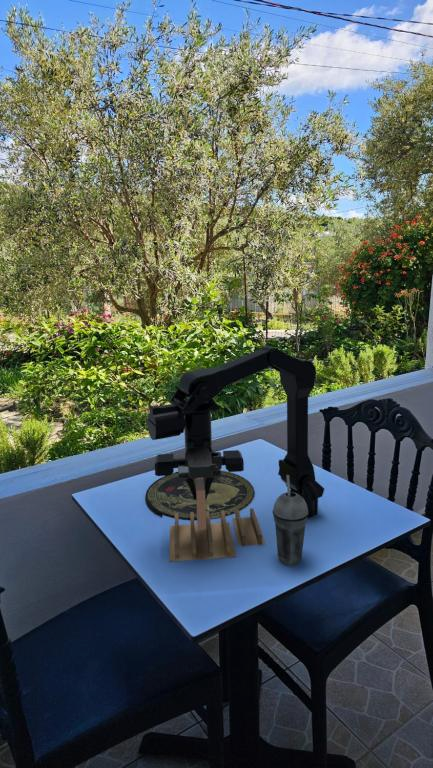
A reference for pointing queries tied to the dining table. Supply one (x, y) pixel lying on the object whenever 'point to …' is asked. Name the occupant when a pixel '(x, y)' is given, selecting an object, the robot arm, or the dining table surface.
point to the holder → (247, 529)
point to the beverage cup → (290, 526)
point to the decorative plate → (178, 498)
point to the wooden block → (200, 503)
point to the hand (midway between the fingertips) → (200, 499)
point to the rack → (201, 540)
